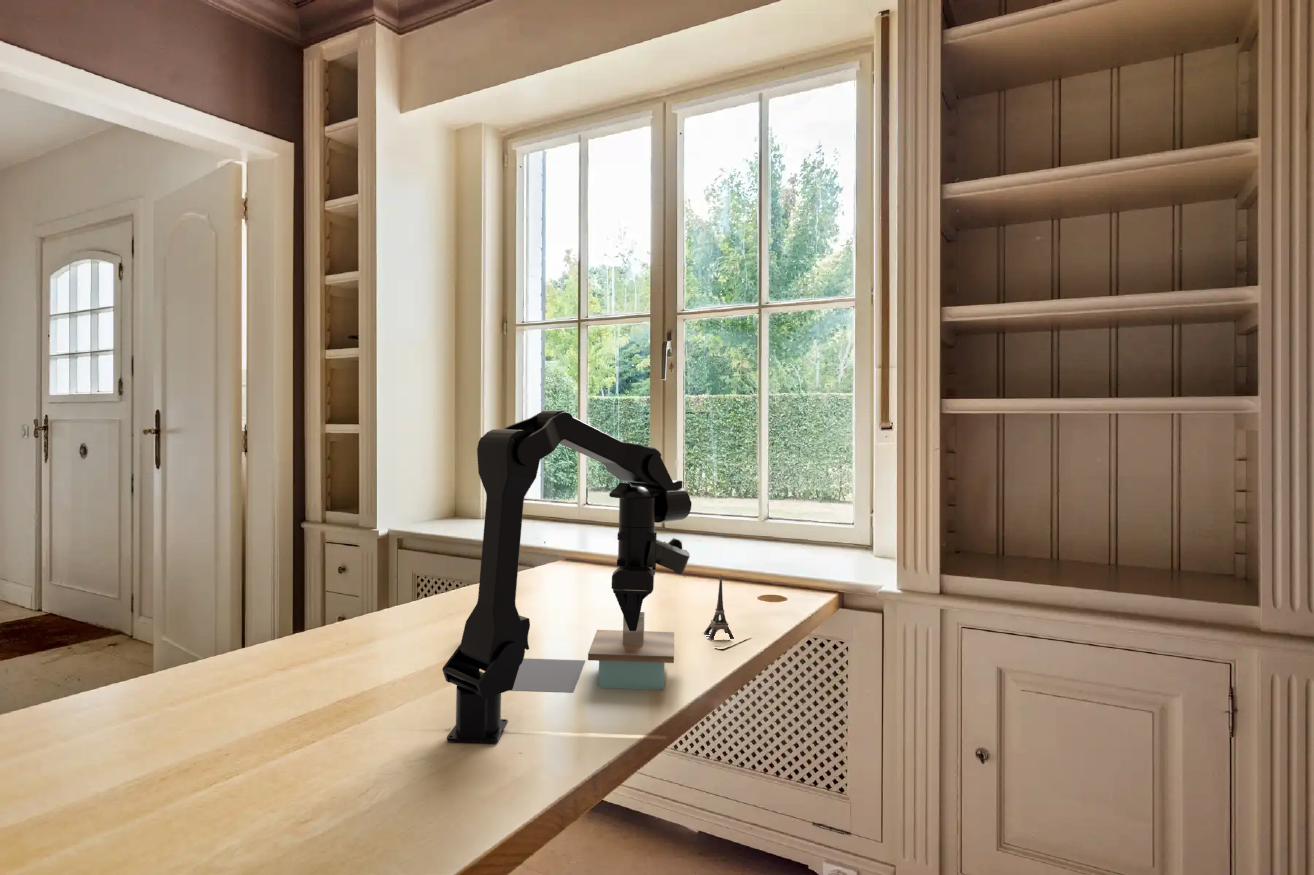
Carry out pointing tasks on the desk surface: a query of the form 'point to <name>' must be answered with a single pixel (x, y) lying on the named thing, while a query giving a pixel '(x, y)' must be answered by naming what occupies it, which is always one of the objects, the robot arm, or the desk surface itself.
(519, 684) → the mat
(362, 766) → the desk surface
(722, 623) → the eiffel tower figurine
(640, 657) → the lid
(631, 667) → the dish
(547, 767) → the desk surface
